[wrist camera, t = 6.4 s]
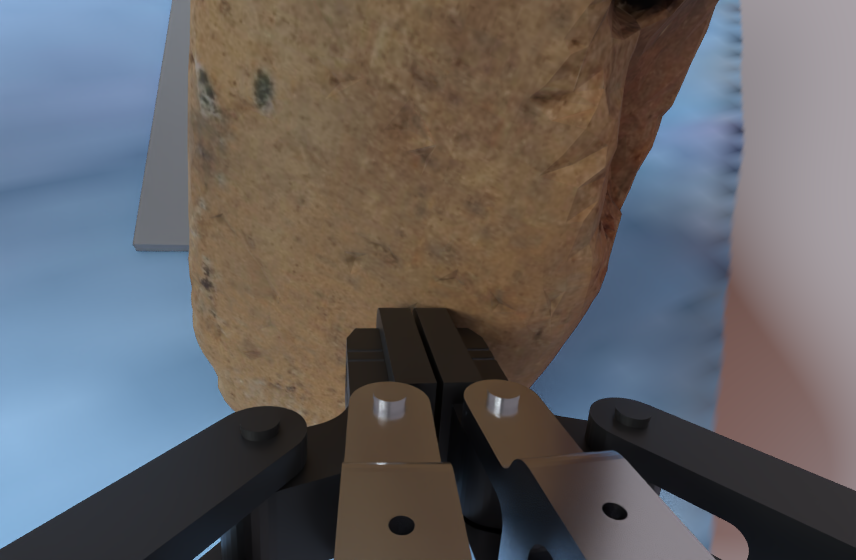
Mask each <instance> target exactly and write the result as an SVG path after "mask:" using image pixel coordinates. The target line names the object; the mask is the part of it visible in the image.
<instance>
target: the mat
mask: <svg viewBox="0 0 856 560" xmlns="http://www.w3.org/2000/svg"><path fill="white" fill-rule="evenodd" d="M189 46H190V0H172V6H171V12H170V18H169V24H168V30H167V37H166V43H165V49H164V55H163V61H162V67H161V73H160V80H159V86H158V92H157V98H156V104H155V110H154V116H153V123H152V129H151V135H150V141H149V147H148V153H147V159H146V166H145V172H144V178H143V184H142V190H141V196H140V202H139V209H138V215H137V221H136V227H135V233H134V239H133V246H134V247H135V249H136V251H189V216H188V149H187V143H188V64H189Z"/></svg>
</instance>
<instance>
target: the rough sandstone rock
mask: <svg viewBox="0 0 856 560" xmlns="http://www.w3.org/2000/svg"><path fill="white" fill-rule="evenodd" d="M718 1H719V0H190V46H189V64H188V143H187V149H188V216H189V257H188V260H189V272H190V279H191V285H192V292H191V302H192V308H193V328H194V331H195V335H196V339H197V341H198V343H199V346H200V348H201V350H202V352H203V353H204V355H205V356H206V358H207V359H208V361H209V362H210V363H211V365H212V366H213V368H214V370H215V372H216V374H217V376H218V388H219V390H220V392H221V394H222V396H223V398H224V400H225V401H226V403H227V404H228V405H229V406H230V407H231V408H232V409H233V410H234V411H235V412H237V411H240V410H243V409H247V408H252V407H258V406H277V407H283V408H287V409H290V410H293V411H295V412H297V413H298V414H300V415H301V416H302V417H303V418H304V419H305V421H306V423H307V427H309V426H313V425H317V424H320V423H324V422H327V421H329V420H331V419H333V418H335V417H337V416H338V415H340V414H341V413H342V412H343V411H344V410H345V377H346V338H347V337H348V336H349V335H350V334H351V333H352V331H353V330H354V329H355V328H376V320H377V310H378V308H410V309H411V312H413V309H414V308H446V309H447V311H448V313H449V315H450V317H451V319H452V321H453V323H454V325H455V327H456V328H469V329H470V330H472V331H473V332H475V333H477V334H478V335H480V336H481V337H483V339H484V341H485V342H486V344H487V346H488V347H489V351H491V352H492V354H493V356H494V357H495V358H494V359H495V360H496V361H497V362H498V364H499V366H500V367H501V369H502V371H503V372H504V374H505V376H506V377H507V379H508V381H511V382H515V383H518V384H521V385H523V386H525V387H527V388H530V387H531V386H532V384H533V383H534V382H535V381H536V380H537V378H538V377H539V376H540V375H541V374H542V373H543V371H544V370H545V369H546V368H547V366H548V365H549V364H550V362H551V361H552V360H553V359H554V357H555V356H556V354H557V353H558V352H559V350H560V349H561V347H562V346H563V344H564V343H565V342H566V340H567V339H568V338H569V336H570V335H571V334H572V332H573V331H574V330H575V328H576V327H577V325H578V324H579V322H580V321H581V319H582V318H583V316H584V315H585V313H586V312H587V310H588V308H589V307H590V305H591V303H592V301H593V300H594V298H595V297H596V296H597V294H598V293H599V291H600V288H601V285H602V283H603V280H604V277H605V275H606V272H607V269H608V262H609V257H610V253H611V250H612V246H613V243H614V239H615V236H616V232H617V229H618V225H619V222H620V219H621V215H622V214H621V211H620V209H621V207H622V205H623V203H624V201H625V199H626V197H627V194H628V192H629V190H630V188H631V186H632V183H633V181H634V178H635V176H636V173H637V171H638V170H639V168H640V166H641V165H642V163H643V161H644V160H645V158H646V156H647V155H648V153H649V151H650V150H651V148H652V146H653V143H654V140H655V138H656V135H657V132H658V129H659V126H660V123H661V119H662V116H663V115H664V114H665V113H666V112H667V111H668V110H669V109H670V107H671V106H672V105H673V103H674V100H675V98H676V96H677V94H678V92H679V90H680V88H681V85H682V83H683V81H684V78H685V76H686V74H687V72H688V69H689V67H690V65H691V62H692V60H693V58H694V56H695V54H696V52H697V50H698V48H699V46H700V44H701V42H702V40H703V38H704V36H705V34H706V32H707V29H708V26H709V23H710V20H711V17H712V14H713V11H714V9H715V6H716V4H717V2H718Z"/></svg>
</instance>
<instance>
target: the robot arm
mask: <svg viewBox="0 0 856 560" xmlns="http://www.w3.org/2000/svg"><path fill="white" fill-rule="evenodd" d="M494 358H495V357H494V356H493V354H492V352H491V351H489V347H488V346H487V344H486V342H485V341H484V339H483V337H481V336H480V335H478V334H477V333H475V332H473V331H472V330H470V329H469V328H456V327H455V325H454V323H453V321H452V319H451V317H450V315H449V313H448V311H447V309H446V308H414V309H413V312H411V309H410V308H378V310H377V320H376V328H355V329H354V330H353V331H352V333H351V334H350V335H349V336H348V337H347V338H346V377H345V410H344V411H343V412H342V413H341V414H340V415H338V416H337V417H335V418H333V419H331V420H329V421H327V422H324V423H320V424H317V425H313V426H309V427H307V423H306V421H305V419H304V418H303V417H302V416H301V415H300V414H298V413H297V412H295V411H293V410H290V409H287V408H283V407H277V406H258V407H252V408H247V409H243V410H240V411H237V412H235V413H233V414H231V415H229V416H227V417H225V418H223V419H222V420H220V421H218V422H217V423H215V424H213V425H211V426H210V427H208V428H206V429H205V430H203V431H201V432H200V433H198V434H196V435H194V436H193V437H191V438H189V439H188V440H186V441H184V442H182V443H181V444H179V445H177V446H176V447H174V448H172V449H171V450H169V451H167V452H165V453H164V454H162V455H160V456H159V457H157V458H155V459H153V460H152V461H150V462H148V463H147V464H145V465H143V466H142V467H140V468H138V469H136V470H135V471H133V472H131V473H130V474H128V475H126V476H124V477H123V478H121V479H119V480H118V481H116V482H114V483H113V484H111V485H109V486H107V487H106V488H104V489H102V490H101V491H99V492H97V493H95V494H94V495H92V496H90V497H89V498H87V499H85V500H84V501H82V502H80V503H78V504H77V505H75V506H73V507H72V508H70V509H68V510H66V511H65V512H63V513H61V514H60V515H58V516H56V517H54V518H53V519H51V520H49V521H48V522H46V523H44V524H43V525H41V526H39V527H37V528H36V529H34V530H32V531H31V532H29V533H27V534H25V535H24V536H22V537H20V538H19V539H17V540H15V541H14V542H12V543H10V544H8V545H7V546H5V547H3V548H2V549H0V560H193V559H194V558H195V557H196V556H198V555H199V554H200V553H201V552H202V551H204V550H205V549H206V548H207V547H209V546H210V545H211V544H212V543H214V542H215V541H216V540H217V539H218V538H220V537H221V542H219V543H218V544H217V545H216V546H214V547H213V548H212V549H211V550H210V551H208V552H207V553H206V554H205V555H203V556H202V557H201V558H200V559H199V560H330V559H332V558H334V560H721V559H719V558H718V557H716V556H714V555H712V554H710V553H709V552H708V550H707V549H706V548H705V547H704V546H703V545H702V544H701V543H700V542H699V540H698V539H697V538H696V537H695V536H694V535H693V534H692V533H691V532H690V530H689V529H688V528H687V527H686V526H685V525H684V524H683V523H682V522H681V520H680V519H679V518H678V517H677V516H676V515H675V514H674V513H673V512H672V510H671V509H670V508H669V507H668V506H667V505H666V504H665V503H664V502H663V500H662V499H661V498H660V497H659V495H660V491H661V488H662V489H664V490H666V491H668V492H670V493H672V494H674V495H676V496H678V497H680V498H682V499H684V500H686V501H688V502H690V503H692V504H694V505H695V506H697V507H699V508H701V509H703V510H705V511H707V512H709V513H711V514H713V515H716V516H717V517H719V518H722V519H723V520H725V521H727V522H729V523H731V524H732V525H734V526H735V527H736V528H737V529H738V530H739V531H740V532H741V533H742V534H743V536H744V537H745V539H746V541H747V543H748V547H749V555H748V558H747V560H856V491H854V490H852V489H850V488H847V487H845V486H842V485H840V484H838V483H835V482H833V481H830V480H828V479H825V478H823V477H821V476H818V475H816V474H813V473H811V472H809V471H806V470H804V469H801V468H799V467H797V466H794V465H792V464H789V463H787V462H785V461H782V460H780V459H777V458H775V457H773V456H770V455H768V454H765V453H763V452H760V451H758V450H756V449H753V448H751V447H748V446H746V445H744V444H741V443H739V442H736V441H734V440H732V439H729V438H727V437H724V436H722V435H719V434H717V433H715V432H712V431H710V430H707V429H705V428H703V427H700V426H698V425H695V424H693V423H691V422H688V421H686V420H683V419H681V418H678V417H676V416H674V415H671V414H669V413H666V412H664V411H662V410H659V409H657V408H654V407H652V406H650V405H647V404H644V403H642V402H638V401H635V400H631V399H625V398H604V399H600V400H598V401H596V402H594V403H593V404H592V405H591V407H590V411H589V417H588V421H587V420H581V419H574V418H568V417H562V416H557V415H553V413H552V412H551V411H550V410H549V408H548V407H547V406H546V405H545V403H544V402H543V401H542V400H541V398H540V397H539V396H538V395H537V394H536V393H535V392H534V391H532V390H531V389H529V388H527V387H525V386H523V385H521V384H518V383H515V382H511V381H508V379H507V377H506V376H505V374H504V372H503V371H502V369H501V367H500V366H499V364H498V362H497V361H496V360H495V359H494Z"/></svg>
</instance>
